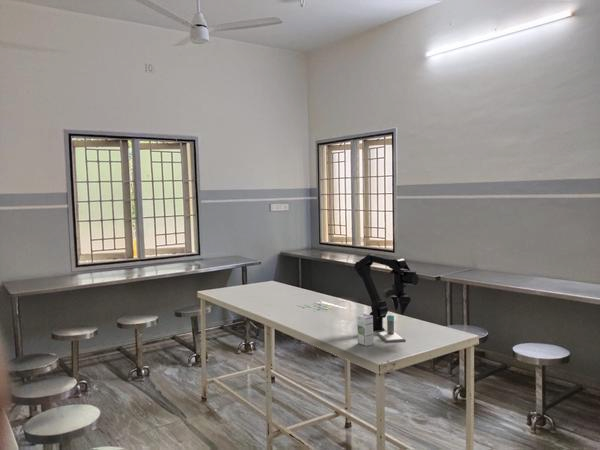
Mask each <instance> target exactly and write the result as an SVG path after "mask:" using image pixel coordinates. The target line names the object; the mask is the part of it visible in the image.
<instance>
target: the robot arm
mask: <svg viewBox="0 0 600 450" xmlns="http://www.w3.org/2000/svg"><path fill="white" fill-rule="evenodd" d="M373 263H375V264H379V265H384V266H385V267H386V266H387V267H388V268H390V269H391V271H390V272H389V274H390V275H392V277H393V278H392V279H393V280H392V281H393V282H392V284H391V287H388V288H386V289H384V290H383V289H382V291H381V292H382V294H383V297H384V298H386V299H388V298H389V299H391V301H392V304H393V308H394V311H398V308H399V309H400V314H401V315H404V314H405V311H406V309H407V308H408V306H409V304H410V303H411V302H412V298H411V297H410V296H409V295H407V293H406V292H405V288H407V285H411V286H416V285H417V284H418V283H419V275H418V274H417V271H411V269H410V268H409V266H408V264H407V262H406V259H404V258H401V257H397V258H396V257H394V258H393V257H387V256H384V255H377V254H375V253H369V254H366V255H365V256H364V257H362V259H360V260H359V261H356V262H355V263H354V265H353V267H354V270H355V272H356V274H357V275H358V276H359V277H360V278H361V279H362V282H363V283H364V287H365V290H366V291H367V294H368V296H369V299H370V301H371V306H370V307H371V312H370V313H369V314H368V315H372V316H373V332H377V331H378V332H382V331H386V330H385V328H384V326H383V325H384V321H383V320H384V318H387V315H388V312H389V306H388V304H387V302H386V300H382V299H381V298H380V295H379V293H378V290H377V288H376V284H375V283H374V280H373V277H372V275H371V271H372V269H371V266H372V265H373Z"/></svg>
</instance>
